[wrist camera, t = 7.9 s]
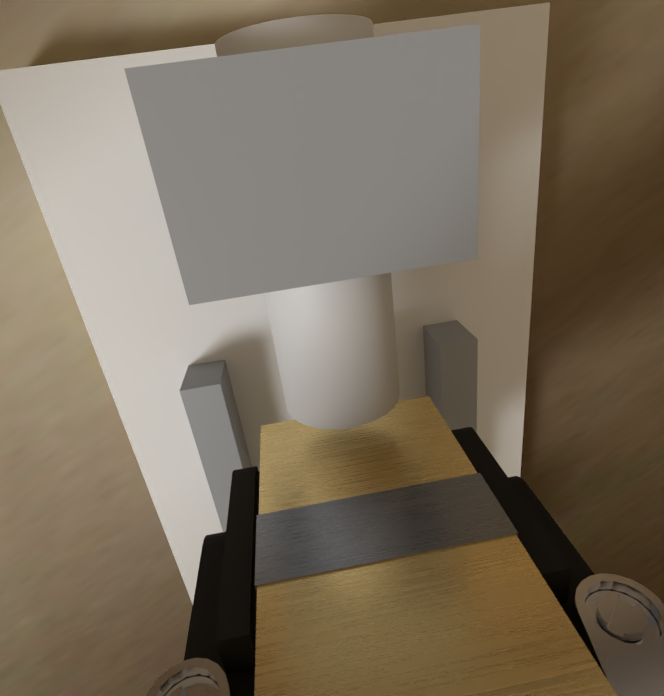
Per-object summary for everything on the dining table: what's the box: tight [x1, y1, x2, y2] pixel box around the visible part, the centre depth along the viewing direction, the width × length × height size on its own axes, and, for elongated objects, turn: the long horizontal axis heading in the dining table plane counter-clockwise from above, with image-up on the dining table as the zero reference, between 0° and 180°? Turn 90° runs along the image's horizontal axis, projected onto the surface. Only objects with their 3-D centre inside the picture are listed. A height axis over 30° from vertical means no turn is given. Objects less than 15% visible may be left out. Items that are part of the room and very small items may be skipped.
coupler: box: [254, 396, 617, 696], centre depth 8 cm, size 4×4×8 cm
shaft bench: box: [0, 2, 550, 604], centre depth 12 cm, size 20×12×6 cm, turn 7°
